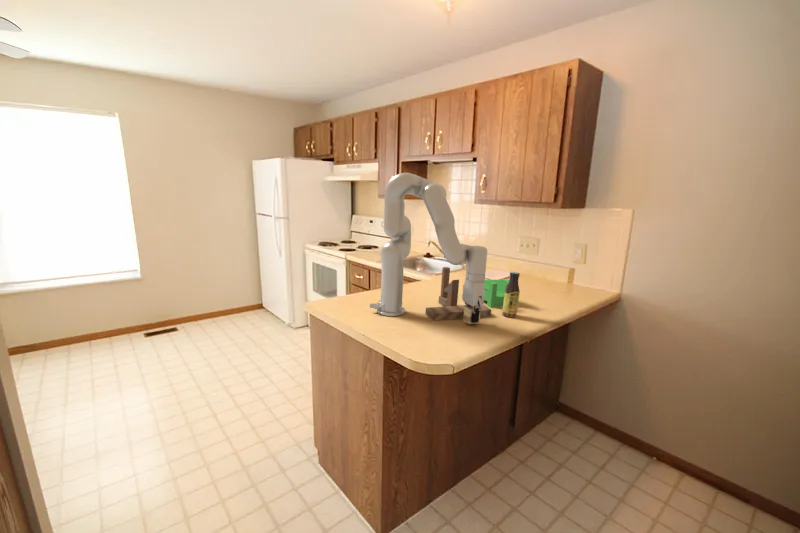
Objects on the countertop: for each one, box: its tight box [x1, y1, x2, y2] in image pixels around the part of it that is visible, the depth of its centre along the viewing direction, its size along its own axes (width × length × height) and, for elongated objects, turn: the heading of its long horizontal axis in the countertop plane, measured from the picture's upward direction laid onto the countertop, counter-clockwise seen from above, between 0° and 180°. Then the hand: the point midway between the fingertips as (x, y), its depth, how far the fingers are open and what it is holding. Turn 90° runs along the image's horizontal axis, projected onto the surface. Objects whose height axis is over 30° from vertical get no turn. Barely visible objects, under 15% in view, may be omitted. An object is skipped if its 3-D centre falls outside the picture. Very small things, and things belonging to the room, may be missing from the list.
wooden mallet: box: [438, 266, 460, 307], centre depth 167 cm, size 4×11×18 cm, turn 26°
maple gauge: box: [462, 306, 490, 325], centre depth 146 cm, size 10×4×6 cm, turn 108°
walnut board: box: [424, 304, 492, 321], centre depth 156 cm, size 28×8×3 cm, turn 108°
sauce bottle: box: [501, 271, 521, 318], centre depth 157 cm, size 7×6×20 cm
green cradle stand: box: [462, 278, 510, 309], centre depth 181 cm, size 24×13×12 cm, turn 24°
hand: (471, 319), depth 146 cm, fingers closed on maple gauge, 4 cm apart
